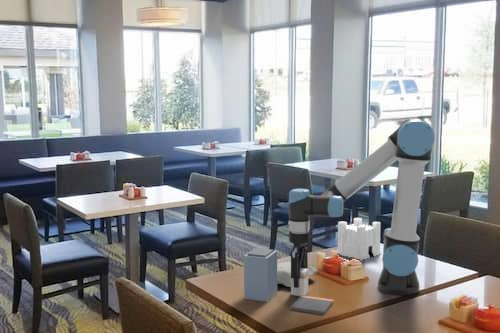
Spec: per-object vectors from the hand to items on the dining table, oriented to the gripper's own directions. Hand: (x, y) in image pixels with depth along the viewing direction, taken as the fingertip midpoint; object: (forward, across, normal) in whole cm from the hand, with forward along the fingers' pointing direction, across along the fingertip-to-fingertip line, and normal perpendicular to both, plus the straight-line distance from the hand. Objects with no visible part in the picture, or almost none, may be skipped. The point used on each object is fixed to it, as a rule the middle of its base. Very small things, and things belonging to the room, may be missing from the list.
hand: (299, 292), depth 214 cm
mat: (0, +10, +8) cm, 13 cm away
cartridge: (0, 0, 0) cm, 0 cm away
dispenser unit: (0, +7, -13) cm, 14 cm away
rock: (+1, -11, -9) cm, 14 cm away
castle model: (+1, -59, +9) cm, 60 cm away
